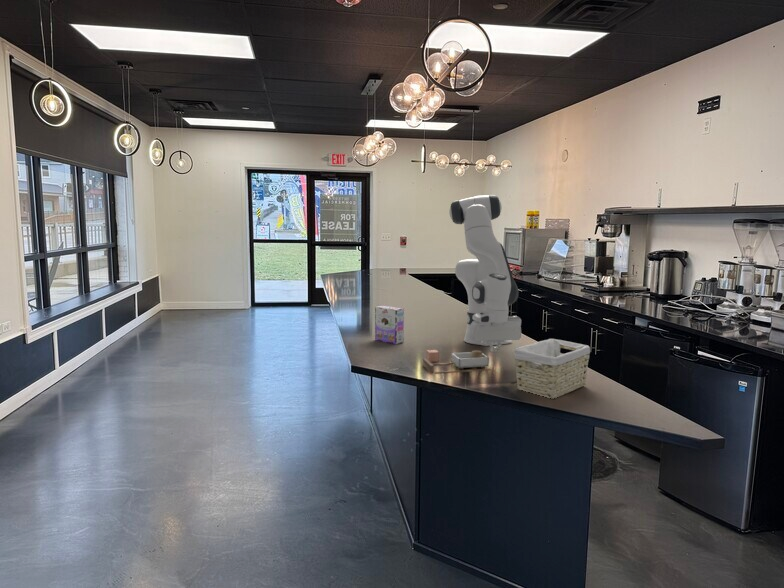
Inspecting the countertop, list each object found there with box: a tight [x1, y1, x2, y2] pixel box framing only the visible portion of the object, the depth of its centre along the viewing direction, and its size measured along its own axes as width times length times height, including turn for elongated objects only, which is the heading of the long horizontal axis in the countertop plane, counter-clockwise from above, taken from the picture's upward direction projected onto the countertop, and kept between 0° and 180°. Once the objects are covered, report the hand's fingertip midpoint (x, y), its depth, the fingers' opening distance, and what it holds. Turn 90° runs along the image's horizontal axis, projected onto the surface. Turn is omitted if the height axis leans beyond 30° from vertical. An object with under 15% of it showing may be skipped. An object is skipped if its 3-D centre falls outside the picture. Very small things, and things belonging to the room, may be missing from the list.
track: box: [422, 358, 492, 374], centre depth 197 cm, size 24×13×4 cm, turn 103°
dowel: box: [471, 349, 483, 358], centre depth 199 cm, size 4×4×4 cm
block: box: [425, 349, 440, 363], centre depth 208 cm, size 4×4×5 cm
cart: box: [450, 351, 490, 370], centre depth 198 cm, size 12×9×5 cm
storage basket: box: [514, 338, 591, 400], centre depth 177 cm, size 24×16×15 cm
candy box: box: [374, 305, 405, 345], centre depth 243 cm, size 14×6×16 cm, turn 47°
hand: (494, 351), depth 200 cm, fingers closed
